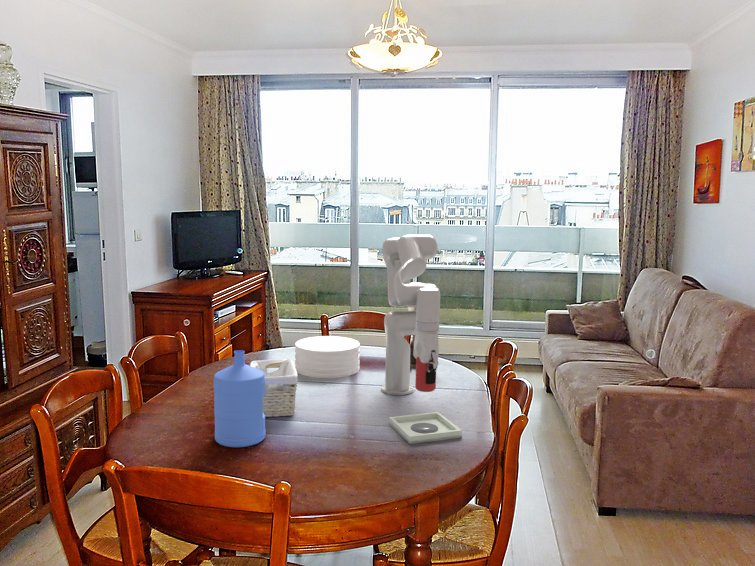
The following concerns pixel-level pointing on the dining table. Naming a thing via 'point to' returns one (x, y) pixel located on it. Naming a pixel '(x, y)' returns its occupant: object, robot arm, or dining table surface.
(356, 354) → the plate stack
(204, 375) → the dining table surface
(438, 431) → the coaster tray
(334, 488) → the dining table surface
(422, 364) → the beer can
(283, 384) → the storage basket
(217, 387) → the water jug
